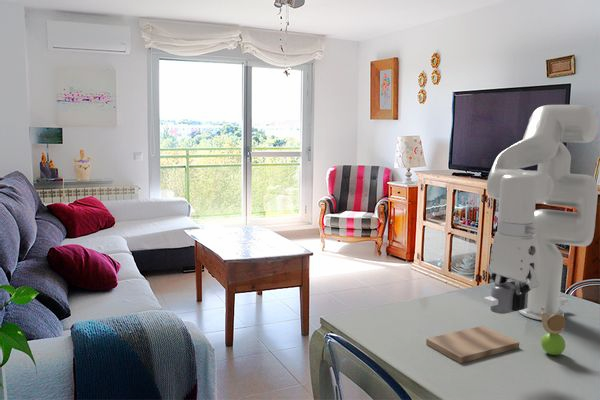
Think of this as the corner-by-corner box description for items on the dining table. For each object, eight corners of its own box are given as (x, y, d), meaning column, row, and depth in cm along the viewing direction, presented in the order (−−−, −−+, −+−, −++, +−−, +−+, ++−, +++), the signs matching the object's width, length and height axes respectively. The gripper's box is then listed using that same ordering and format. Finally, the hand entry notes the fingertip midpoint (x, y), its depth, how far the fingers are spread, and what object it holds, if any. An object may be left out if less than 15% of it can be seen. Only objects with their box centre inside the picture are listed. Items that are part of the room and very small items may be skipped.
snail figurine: (532, 349, 132) (536, 304, 130) (556, 349, 133) (560, 303, 131) (543, 359, 127) (548, 311, 125) (569, 358, 127) (573, 311, 126)
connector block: (516, 301, 125) (518, 279, 124) (531, 307, 121) (532, 284, 120) (480, 310, 119) (481, 287, 118) (493, 316, 116) (495, 292, 115)
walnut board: (482, 330, 144) (483, 325, 143) (519, 347, 133) (519, 342, 133) (426, 344, 134) (426, 338, 134) (460, 363, 124) (460, 357, 124)
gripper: (559, 234, 112) (552, 316, 115) (497, 220, 127) (492, 293, 130) (535, 238, 109) (529, 322, 112) (474, 223, 123) (470, 298, 126)
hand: (509, 305), depth 121 cm, fingers closed on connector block, 4 cm apart
